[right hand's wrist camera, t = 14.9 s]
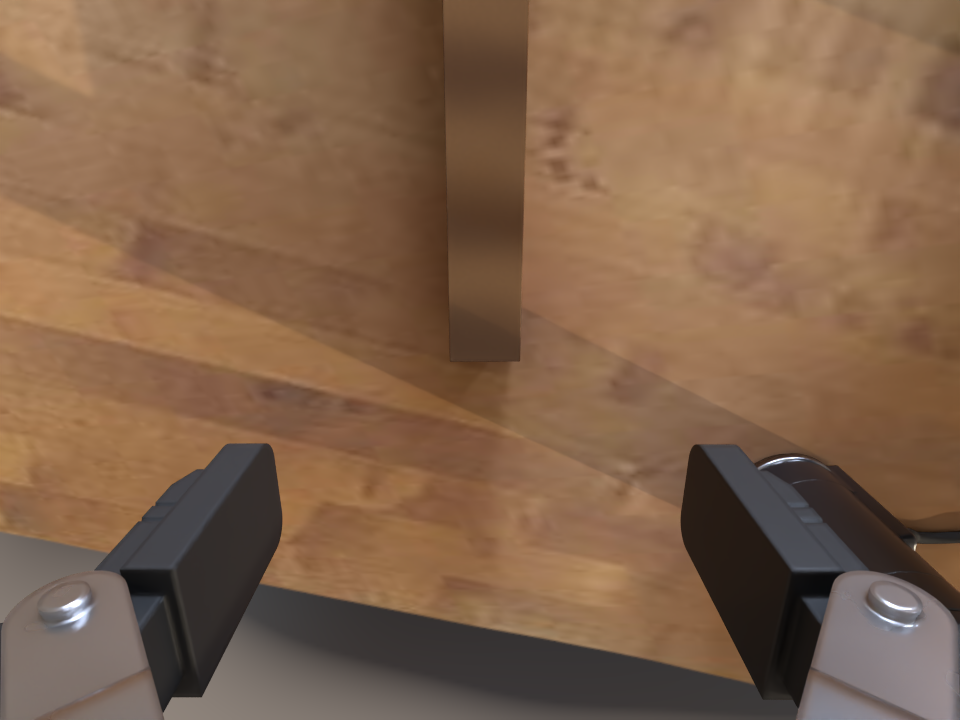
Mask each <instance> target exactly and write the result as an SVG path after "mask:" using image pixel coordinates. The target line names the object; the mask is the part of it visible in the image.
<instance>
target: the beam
mask: <svg viewBox="0 0 960 720" xmlns="http://www.w3.org/2000/svg"><path fill="white" fill-rule="evenodd" d="M528 15H529V0H443V41H444V90H445V140H446V190H447V240H448V289H449V339H450V361H520V339H521V299H522V258H523V218H524V177H525V137H526V96H527V56H528Z"/></svg>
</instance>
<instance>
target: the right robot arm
mask: <svg viewBox="0 0 960 720" xmlns="http://www.w3.org/2000/svg"><path fill="white" fill-rule="evenodd" d="M281 531H282V509H281V502H280V495H279V488H278V480H277V473H276V466H275V459H274V453H273V450H272V448H271V446H270V445H269V444H227V445H225V446H224V447H223V448H222V449H221V451H220V452H219V453H218V454H217V455H216V456H215V458H214V459H213V460H212V461H211V462H210V464H209V465H208V466H207V467H206V468H205V469H197V470H195V471H193V472H192V473H190V474H189V475H187V476H185V477H184V478H182V479H180V480H179V481H177V482H175V483H174V484H172V485H171V486H170V487H169V488H168V489H167V491H166V492H165V493H164V494H163V495H162V496H161V497H160V498H159V499H158V500H157V502H156V505H155V506H152V507H151V508H150V509H149V510H148V511H147V513H146V514H145V515H144V516H143V517H142V521H138V523H137V524H136V525H135V526H134V527H133V528H132V529H131V530H130V531H129V532H128V534H127V535H126V536H125V537H124V538H123V539H122V540H121V541H120V542H119V543H118V545H117V546H116V547H115V548H114V549H113V550H112V551H111V552H110V553H109V554H108V556H107V557H106V558H105V559H104V560H103V561H102V562H101V563H100V564H99V566H98V567H97V568H96V569H95V570H94V571H87V572H82V573H77V574H73V575H70V576H66V577H63V578H61V579H58V580H56V581H53V582H51V583H49V584H47V585H45V586H43V587H41V588H39V589H38V590H36V591H34V592H33V593H31V594H30V595H28V596H27V597H25V598H24V599H23V600H22V601H21V602H19V603H18V604H17V605H16V606H15V607H14V608H13V609H12V610H11V611H10V613H9V614H8V615H7V617H6V618H5V620H4V623H0V720H164V717H163V712H164V710H165V709H166V707H167V705H168V703H169V701H170V700H171V698H172V697H202V695H203V694H204V692H205V690H206V688H207V686H208V684H209V682H210V680H211V678H212V676H213V674H214V672H215V670H216V668H217V666H218V664H219V662H220V660H221V658H222V656H223V654H224V652H225V650H226V648H227V646H228V644H229V642H230V640H231V638H232V636H233V634H234V632H235V630H236V628H237V626H238V624H239V622H240V620H241V618H242V616H243V614H244V612H245V610H246V608H247V606H248V604H249V602H250V600H251V598H252V596H253V594H254V592H255V590H256V588H257V586H258V584H259V583H260V581H261V579H262V577H263V575H264V573H265V571H266V569H267V567H268V565H269V563H270V561H271V559H272V557H273V555H274V553H275V551H276V549H277V547H278V544H279V541H280V537H281ZM681 532H682V538H683V542H684V545H685V547H686V550H687V552H688V554H689V556H690V558H691V560H692V562H693V563H694V565H695V567H696V569H697V571H698V573H699V575H700V577H701V579H702V581H703V583H704V585H705V587H706V589H707V591H708V593H709V595H710V597H711V599H712V601H713V603H714V605H715V607H716V609H717V611H718V612H719V614H720V616H721V618H722V620H723V622H724V624H725V626H726V628H727V630H728V632H729V634H730V636H731V638H732V640H733V642H734V644H735V646H736V648H737V650H738V652H739V654H740V656H741V658H742V660H743V661H744V663H745V665H746V667H747V669H748V671H749V673H750V675H751V677H752V679H753V681H754V683H755V685H756V687H757V689H758V691H759V693H760V695H761V697H762V699H764V700H770V699H771V700H794V702H795V704H796V706H797V707H798V713H797V717H796V720H960V592H958V591H957V590H956V589H955V588H954V587H953V586H952V585H951V584H950V583H949V582H948V581H946V580H945V579H944V578H943V577H942V576H941V575H940V574H939V573H938V572H937V571H936V570H935V569H934V568H933V567H931V566H930V565H929V564H928V563H927V562H926V561H925V560H924V559H923V558H922V557H921V556H920V555H919V554H918V553H917V552H915V551H916V546H917V543H920V544H944V543H960V532H933V533H928V532H916V531H915V530H912V529H909V528H906V527H905V526H904V525H903V524H902V523H901V522H900V521H898V520H897V519H896V518H895V517H894V516H893V515H892V514H891V513H890V512H888V511H887V510H886V509H885V508H884V507H883V506H882V505H881V504H880V503H878V502H877V501H876V500H875V499H874V498H873V497H872V496H871V495H870V494H868V493H867V492H866V491H865V490H864V489H863V488H862V487H861V486H860V485H858V484H857V483H856V482H855V481H854V480H853V479H852V478H851V477H850V476H848V475H847V474H846V473H845V472H844V471H843V470H842V469H841V468H839V467H838V466H836V465H835V466H825V465H824V464H823V463H822V462H820V461H819V460H817V459H815V458H813V457H810V456H807V455H802V454H780V455H775V456H772V457H768V458H766V459H763V460H761V461H759V462H757V463H755V464H753V463H752V461H751V460H750V459H749V458H748V457H747V456H746V454H745V453H744V452H743V451H742V450H741V449H740V448H739V447H738V446H737V445H694V446H693V447H692V449H691V451H690V455H689V461H688V468H687V475H686V482H685V489H684V496H683V503H682V510H681Z"/></svg>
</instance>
